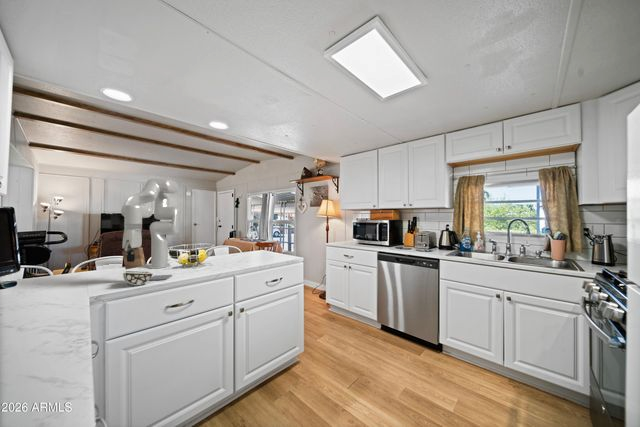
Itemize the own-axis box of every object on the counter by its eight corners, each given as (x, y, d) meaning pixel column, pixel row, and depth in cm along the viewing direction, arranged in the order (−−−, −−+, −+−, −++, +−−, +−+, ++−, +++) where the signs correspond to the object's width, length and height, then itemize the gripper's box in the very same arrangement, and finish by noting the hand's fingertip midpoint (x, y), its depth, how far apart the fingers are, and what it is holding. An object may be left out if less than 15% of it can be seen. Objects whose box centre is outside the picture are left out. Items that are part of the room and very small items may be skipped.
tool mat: (154, 276, 136) (154, 275, 136) (172, 276, 138) (172, 274, 138) (147, 281, 128) (147, 279, 128) (165, 280, 129) (165, 278, 130)
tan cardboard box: (129, 268, 128) (125, 250, 128) (145, 265, 130) (142, 247, 130) (125, 269, 125) (122, 251, 124) (142, 266, 127) (138, 248, 126)
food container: (119, 282, 121) (120, 285, 114) (122, 270, 122) (123, 273, 115) (147, 283, 129) (150, 286, 122) (150, 271, 130) (153, 274, 123)
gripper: (133, 226, 134) (133, 258, 134) (115, 228, 118) (115, 264, 118) (148, 226, 136) (148, 258, 136) (132, 228, 120) (132, 263, 120)
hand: (132, 260), depth 127 cm, fingers closed on tan cardboard box, 3 cm apart
